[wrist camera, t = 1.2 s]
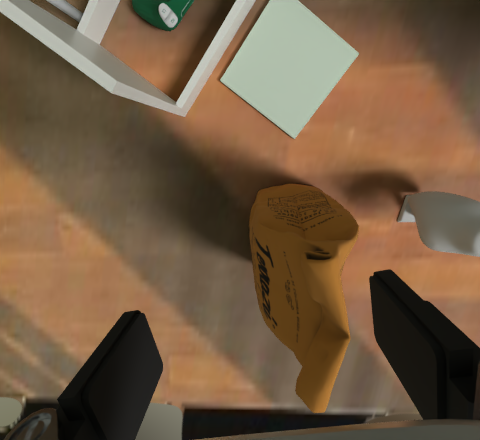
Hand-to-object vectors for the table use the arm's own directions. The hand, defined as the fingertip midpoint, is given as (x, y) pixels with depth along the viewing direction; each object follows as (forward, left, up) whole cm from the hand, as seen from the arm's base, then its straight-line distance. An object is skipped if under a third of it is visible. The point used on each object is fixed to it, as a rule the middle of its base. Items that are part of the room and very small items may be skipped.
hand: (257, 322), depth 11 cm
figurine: (-11, +17, -25) cm, 32 cm away
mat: (-14, -6, -25) cm, 29 cm away
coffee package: (+1, +6, -25) cm, 26 cm away
